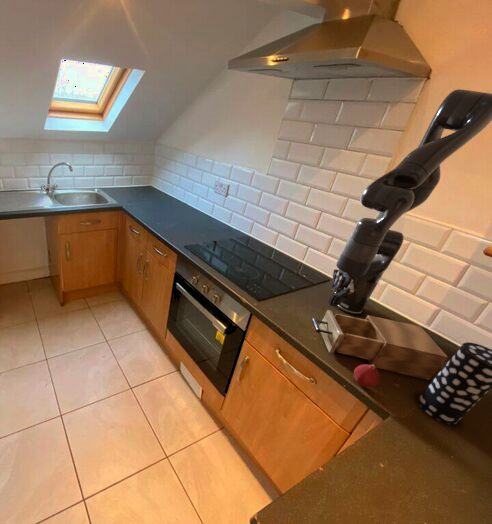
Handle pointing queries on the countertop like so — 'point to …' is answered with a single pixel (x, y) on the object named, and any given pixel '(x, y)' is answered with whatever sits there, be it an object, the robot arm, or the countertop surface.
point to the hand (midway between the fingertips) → (332, 304)
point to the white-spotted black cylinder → (459, 384)
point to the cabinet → (406, 349)
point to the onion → (367, 375)
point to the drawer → (349, 335)
